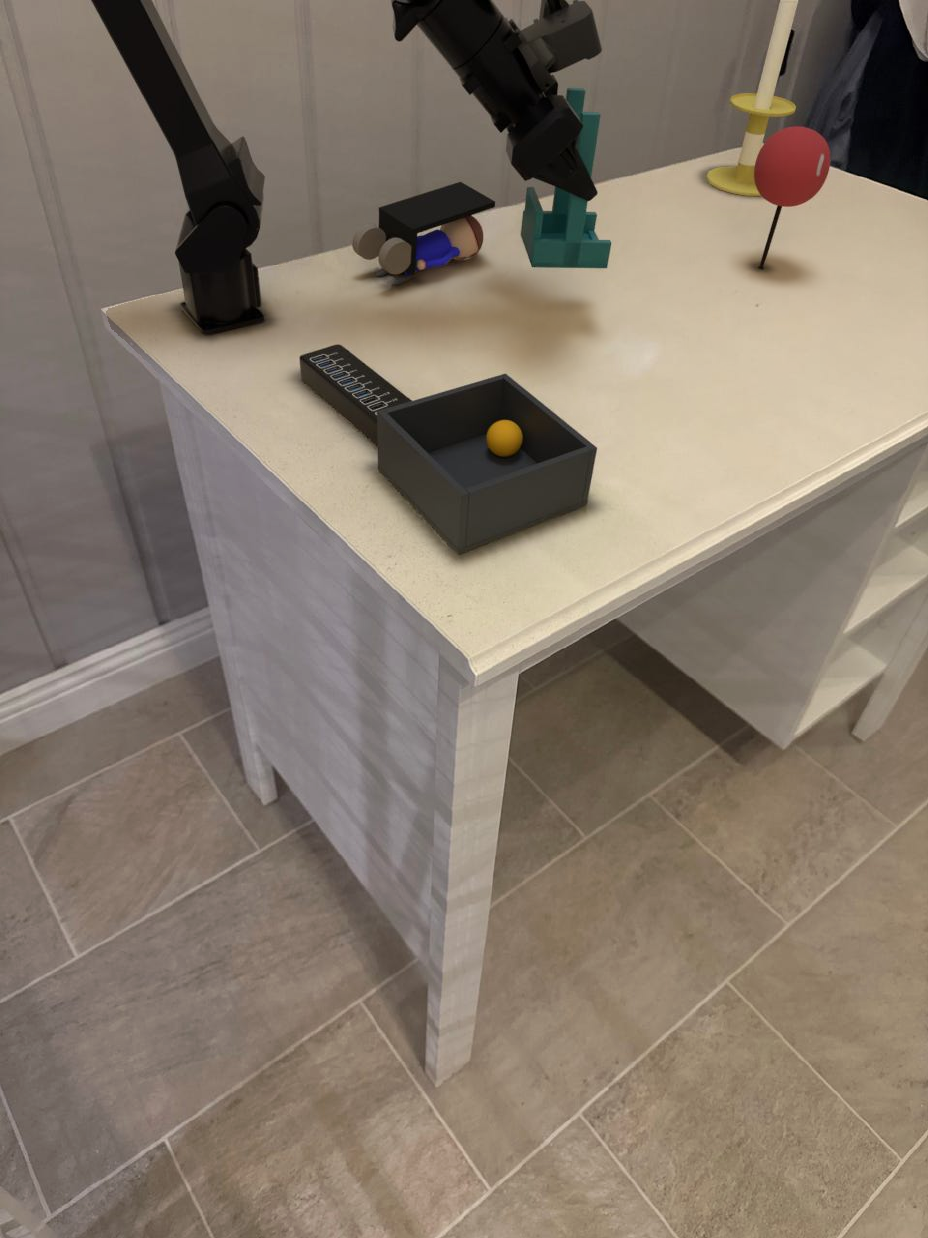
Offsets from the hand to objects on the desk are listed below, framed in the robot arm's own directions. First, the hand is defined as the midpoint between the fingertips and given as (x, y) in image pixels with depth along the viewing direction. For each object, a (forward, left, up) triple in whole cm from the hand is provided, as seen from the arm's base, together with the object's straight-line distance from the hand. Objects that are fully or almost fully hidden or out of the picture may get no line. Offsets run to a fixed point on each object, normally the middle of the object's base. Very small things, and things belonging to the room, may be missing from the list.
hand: (585, 181), depth 86 cm
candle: (+46, +20, -14) cm, 52 cm away
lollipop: (+28, -1, -14) cm, 31 cm away
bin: (-24, -20, -13) cm, 34 cm away
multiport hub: (-27, -5, -14) cm, 31 cm away
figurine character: (-8, +16, -14) cm, 22 cm away
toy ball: (-20, -18, -11) cm, 29 cm away
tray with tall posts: (-1, +1, -7) cm, 7 cm away
